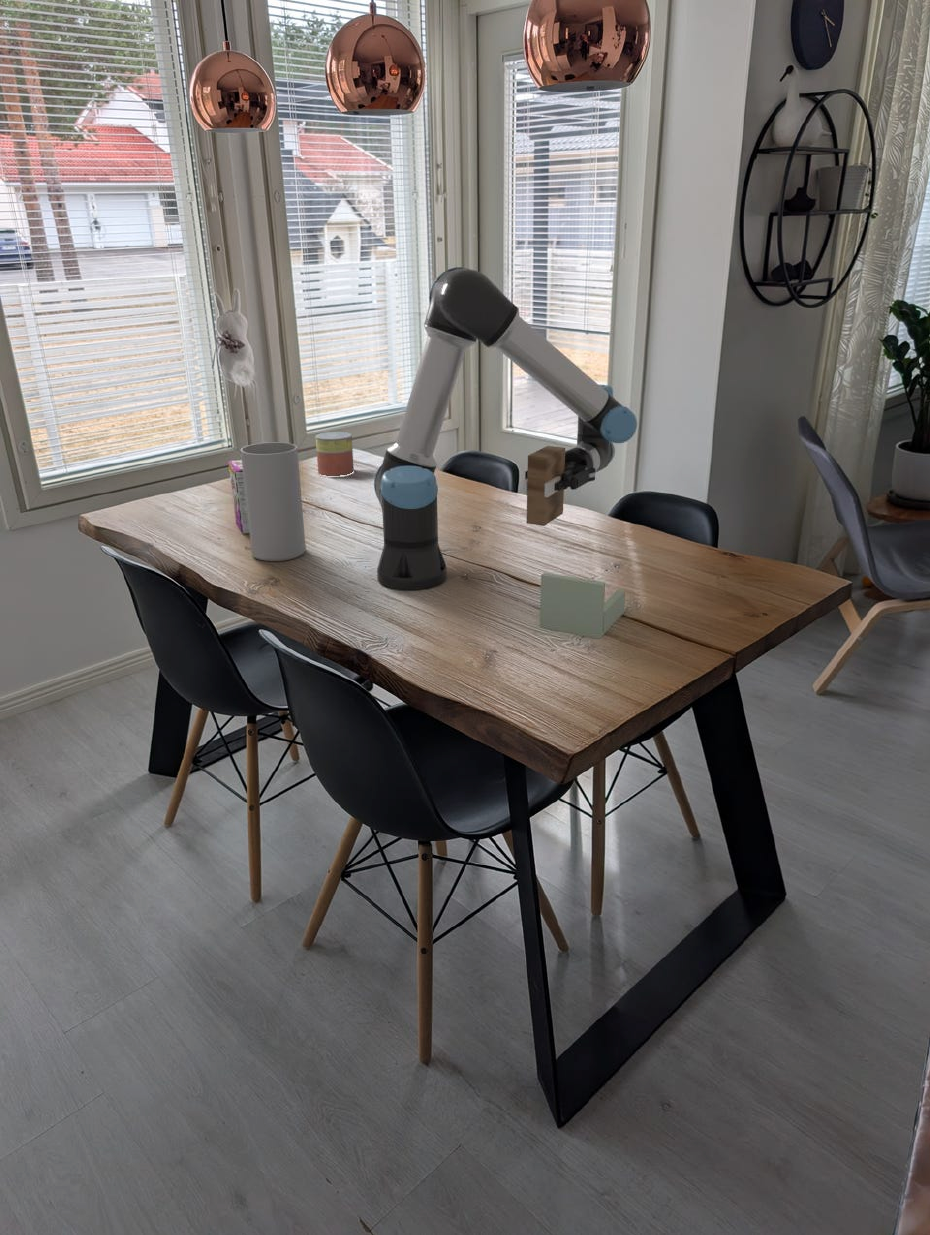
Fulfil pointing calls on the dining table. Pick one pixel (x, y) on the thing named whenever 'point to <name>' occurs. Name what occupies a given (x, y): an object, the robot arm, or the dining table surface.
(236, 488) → the candy bar box
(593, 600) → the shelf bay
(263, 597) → the dining table surface
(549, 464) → the walnut block
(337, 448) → the canned food
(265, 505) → the cylinder vase
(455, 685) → the dining table surface
